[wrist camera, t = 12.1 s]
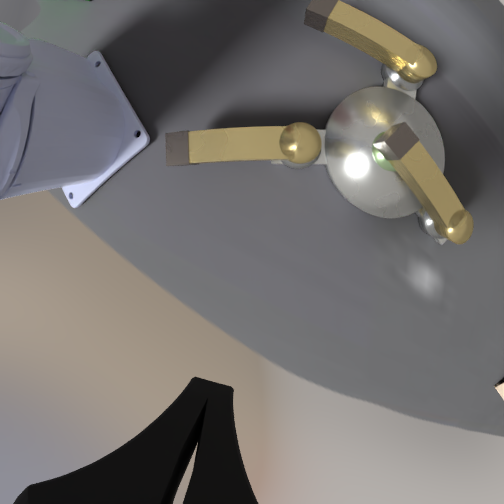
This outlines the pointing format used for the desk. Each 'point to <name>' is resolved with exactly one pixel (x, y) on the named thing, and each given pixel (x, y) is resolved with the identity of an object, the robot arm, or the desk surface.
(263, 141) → the lever
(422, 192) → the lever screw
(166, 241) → the desk surface
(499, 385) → the newspaper
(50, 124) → the robot arm
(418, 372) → the desk surface
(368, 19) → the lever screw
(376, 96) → the base
